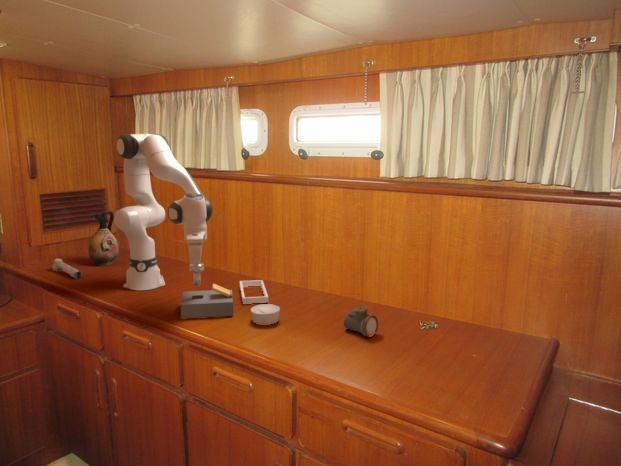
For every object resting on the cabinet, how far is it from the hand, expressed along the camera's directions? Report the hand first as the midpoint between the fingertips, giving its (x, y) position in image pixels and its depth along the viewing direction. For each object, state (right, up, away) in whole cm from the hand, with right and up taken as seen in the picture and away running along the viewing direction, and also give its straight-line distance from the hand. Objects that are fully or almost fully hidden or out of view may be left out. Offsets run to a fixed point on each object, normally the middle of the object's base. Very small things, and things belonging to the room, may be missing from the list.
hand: (196, 268), depth 177 cm
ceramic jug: (-70, -3, +72) cm, 100 cm away
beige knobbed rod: (-80, -7, +51) cm, 95 cm away
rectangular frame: (+20, -14, +25) cm, 34 cm away
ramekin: (+28, -20, -5) cm, 35 cm away
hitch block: (+3, -18, +4) cm, 18 cm away
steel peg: (0, -6, +1) cm, 7 cm away
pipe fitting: (+64, -23, -14) cm, 69 cm away
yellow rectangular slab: (+9, -10, +4) cm, 14 cm away
